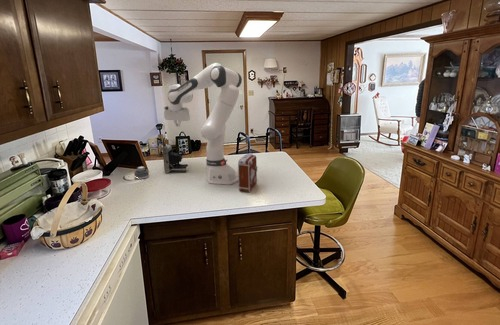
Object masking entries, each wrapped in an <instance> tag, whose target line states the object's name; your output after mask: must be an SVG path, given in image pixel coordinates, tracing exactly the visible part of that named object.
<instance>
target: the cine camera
mask: <svg viewBox="0 0 500 325" xmlns="http://www.w3.org/2000/svg"><path fill="white" fill-rule="evenodd" d="M237 162H238V163H237V169H238V170H237V171H238V172H237V173H238V175H237V176H239V180H238V190H239V191H240V192H247V193H248V192H249V193H251V191H252V190H253V189H254V188H255V187H256V185H257V182H258V181H257V180H258V179H257V178H258V177H257V176H258V175H257V172H258V168H259V167H258V166H257V156H256V155H255V154H253V153H247V154H245V155H243V156H242V157H240V159H238V161H237Z"/></svg>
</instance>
